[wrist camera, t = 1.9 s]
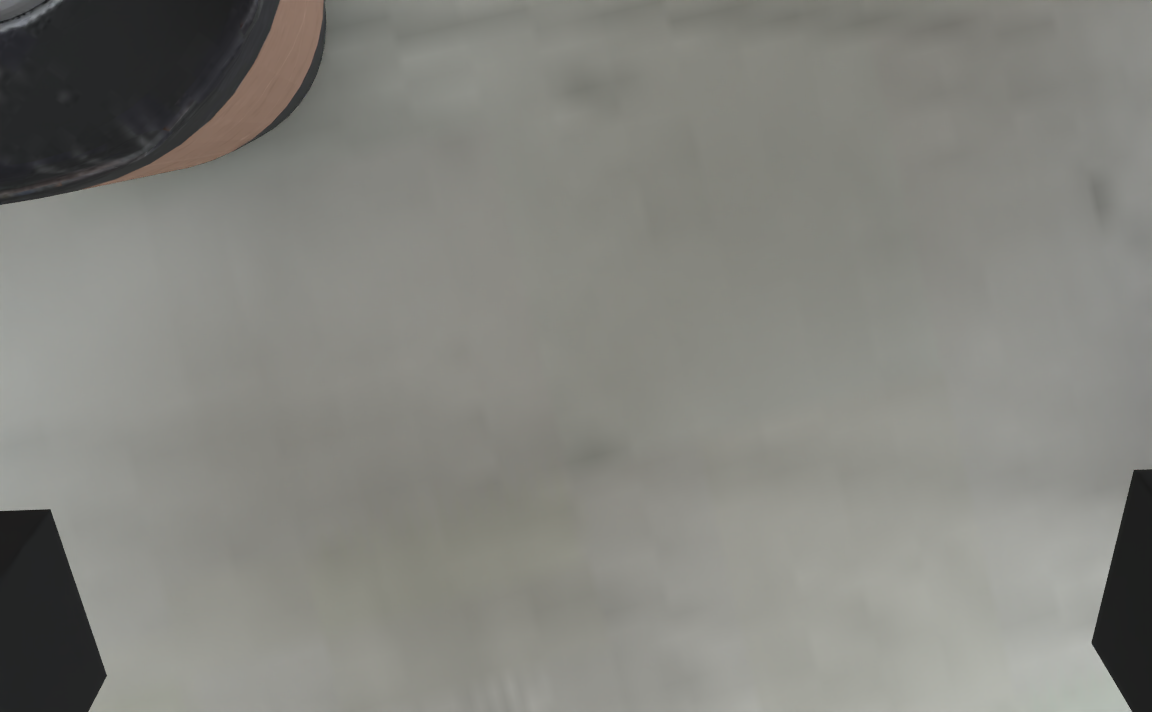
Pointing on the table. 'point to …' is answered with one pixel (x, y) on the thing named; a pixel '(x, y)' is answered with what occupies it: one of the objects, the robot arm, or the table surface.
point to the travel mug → (144, 85)
